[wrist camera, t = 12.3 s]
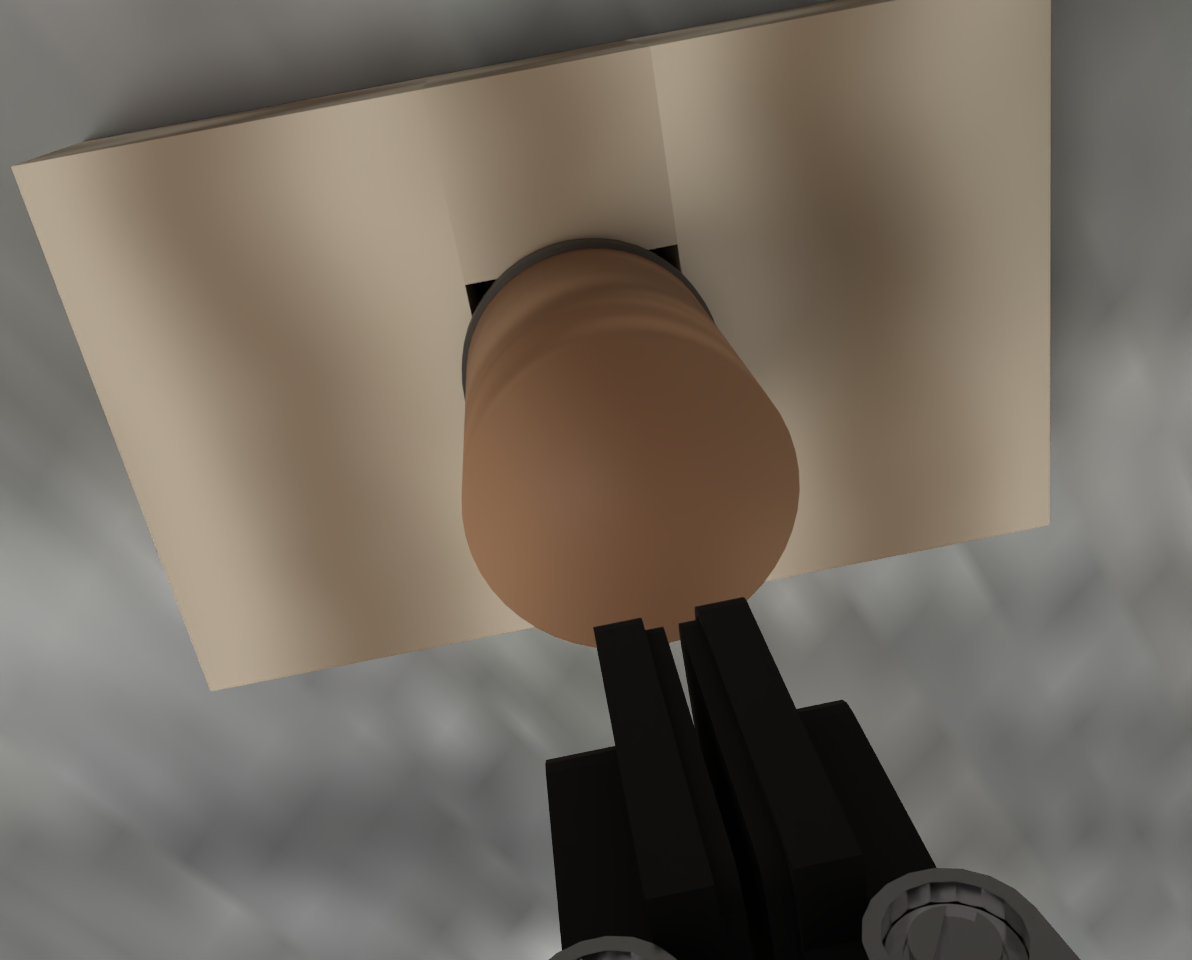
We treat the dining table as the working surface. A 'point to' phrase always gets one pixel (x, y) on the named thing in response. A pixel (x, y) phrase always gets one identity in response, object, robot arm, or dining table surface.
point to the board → (531, 222)
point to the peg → (616, 446)
